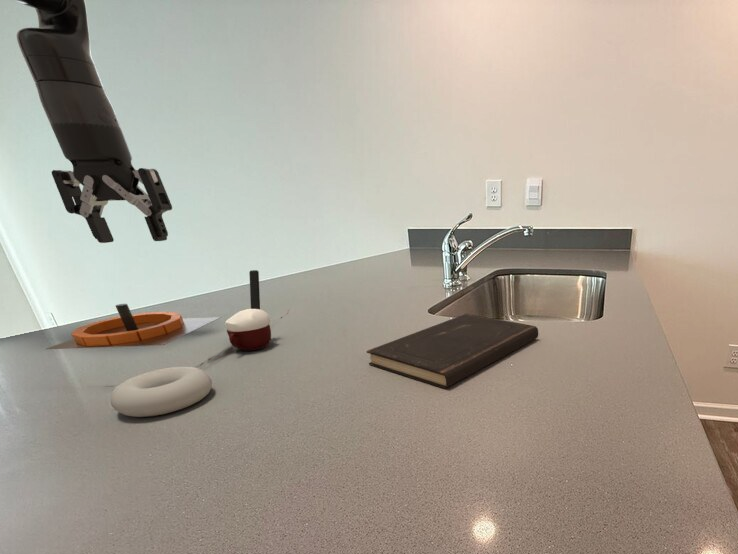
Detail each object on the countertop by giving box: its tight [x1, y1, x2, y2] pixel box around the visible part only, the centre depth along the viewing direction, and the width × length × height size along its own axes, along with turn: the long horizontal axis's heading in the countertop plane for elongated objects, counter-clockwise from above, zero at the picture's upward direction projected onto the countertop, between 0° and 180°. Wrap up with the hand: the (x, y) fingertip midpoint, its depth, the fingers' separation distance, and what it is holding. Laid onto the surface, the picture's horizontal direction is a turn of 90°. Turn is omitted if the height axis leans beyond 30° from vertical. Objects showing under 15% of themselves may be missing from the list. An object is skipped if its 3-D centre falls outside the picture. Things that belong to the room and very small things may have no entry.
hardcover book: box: [366, 313, 539, 389], centre depth 65 cm, size 16×23×2 cm
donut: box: [110, 366, 213, 418], centre depth 51 cm, size 10×4×10 cm
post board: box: [45, 303, 222, 350], centre depth 73 cm, size 19×16×6 cm
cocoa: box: [224, 269, 272, 352], centre depth 67 cm, size 10×6×12 cm, turn 153°
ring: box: [70, 311, 184, 346], centre depth 74 cm, size 15×15×2 cm
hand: (133, 241), depth 66 cm, fingers open, 8 cm apart
